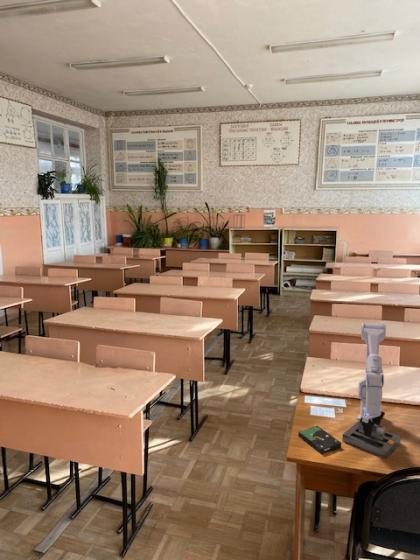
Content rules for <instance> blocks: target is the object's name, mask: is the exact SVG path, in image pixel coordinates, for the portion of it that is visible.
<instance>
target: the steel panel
mask: <svg viewBox="0 0 420 560" xmlns="http://www.w3.org/2000/svg"><path fill="white" fill-rule="evenodd" d="M358 422H359V433H362V434H364V429H363V426H362V424H361V422H360V419H358ZM385 431H386V427H384V426H382V425H380V426H379V425H376V424H374V426H373V429H372V433H371V436H370V437H372V438H375V439H378V440H380V441H383V442H384V437H385ZM364 435H365V434H364Z"/></svg>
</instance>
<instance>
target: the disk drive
mask: <svg viewBox="0 0 420 560" xmlns="http://www.w3.org/2000/svg"><path fill="white" fill-rule="evenodd" d="M297 435H298V436H297V437H298V438H300V439H301V440H302V441H304V442H305V443H306V444H307V445H309V446H310V447H312V449H314V450H315V451H317V452H318V453H319V454H321V455H323V454H325V453H329V452H331V451H335V450H338V449H341V448H342V442H341V441H340V440H338V439H337V438H335V437H334V436H333V435H331V434H330V433H328V432H327V431H326V430H324V429H323V428H322V427H320V426H318V425H316V426H312V427H308V428H307V429H303V430H299V432H298V434H297Z"/></svg>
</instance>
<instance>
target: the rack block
mask: <svg viewBox="0 0 420 560" xmlns="http://www.w3.org/2000/svg"><path fill="white" fill-rule="evenodd" d="M401 438H402V437H401V435H398V434H395V433H393V432H389V431H386V430H385V437H384V442H383V441H380V440H378V439H375V438H372V437H368V436H365V435H364V434H362V433H359V421H357V422H355V423H354V424H353V425H352V426H351V427H349V428H348V429H346V431H345V432H343V433H342V439H341V440H342V442H344V443H346V444H349V445H351V446H354V447H356V448H359V449H361V450H364V451H366V452H368V453H371V454H374V455H376V456H379V457H381V458H384V459H388V458H389V456H390V455H392V453H393V452H394V451H395V450H396V449H397V447H399V445H400V444H401V441H402V440H401Z"/></svg>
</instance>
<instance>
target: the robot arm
mask: <svg viewBox="0 0 420 560" xmlns="http://www.w3.org/2000/svg"><path fill="white" fill-rule="evenodd" d="M386 330H387V327H386V324H385V323H376V322H375V323H373V322H372V323H371V322H362V323H361V325H360V338H361V341H364V342H365V344H366V351H365V352H366V353H365V354H366V355H365V356H366V357H365V376H364V377H363V378H362V379H360V380H359V381H358V387H357V388H358V389H357V397H358V399H360V409H359V410H360V411H359V414H358V415H357V416H356V419H357V420H360V422H361V424H362V426H363V429H364V434H365V436H368V437H370V436H371V433H372V429H373V426H374V424H376V425H379V426H381V422H382V421H383V419H384V417H385V415H386V413H385V411H383V405H382V400H383V388H384V385H385V374H384V370H383V358H382V357H381V356H380V355H379V354H380V353H379V352H380V342H383V341H384V339H385V338H386V336H387V335H386V333H387V331H386Z"/></svg>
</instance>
